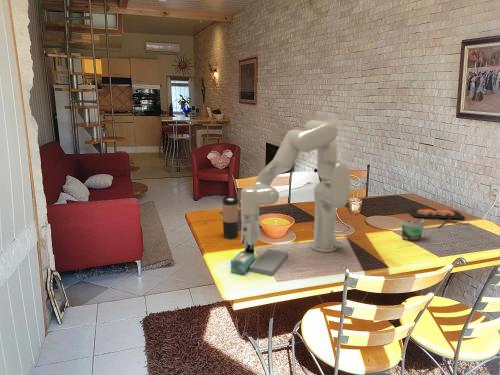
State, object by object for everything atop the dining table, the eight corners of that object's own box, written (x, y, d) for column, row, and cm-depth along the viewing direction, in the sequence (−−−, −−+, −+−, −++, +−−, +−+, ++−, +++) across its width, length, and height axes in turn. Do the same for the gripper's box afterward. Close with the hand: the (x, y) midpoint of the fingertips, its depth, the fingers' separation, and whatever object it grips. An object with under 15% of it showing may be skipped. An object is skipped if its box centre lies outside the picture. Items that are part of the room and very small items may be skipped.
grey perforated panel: (287, 256, 169) (288, 250, 168) (272, 276, 151) (272, 269, 151) (250, 249, 176) (250, 243, 175) (231, 267, 158) (231, 261, 158)
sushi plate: (455, 213, 231) (456, 207, 230) (479, 231, 202) (480, 224, 201) (406, 211, 234) (406, 205, 233) (422, 228, 205) (423, 222, 204)
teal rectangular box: (254, 264, 161) (254, 253, 160) (244, 274, 152) (244, 263, 151) (241, 262, 163) (241, 251, 162) (230, 271, 154) (230, 260, 153)
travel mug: (230, 232, 197) (229, 195, 192) (241, 236, 193) (241, 198, 188) (220, 236, 192) (219, 198, 187) (231, 240, 187) (230, 201, 182)
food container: (407, 243, 184) (409, 224, 181) (399, 239, 189) (401, 220, 187) (428, 241, 187) (431, 222, 184) (420, 236, 193) (422, 218, 190)
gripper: (250, 223, 151) (250, 265, 155) (264, 212, 164) (264, 252, 169) (234, 220, 154) (234, 262, 158) (249, 210, 167) (248, 249, 172)
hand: (249, 256), depth 163 cm, fingers closed
